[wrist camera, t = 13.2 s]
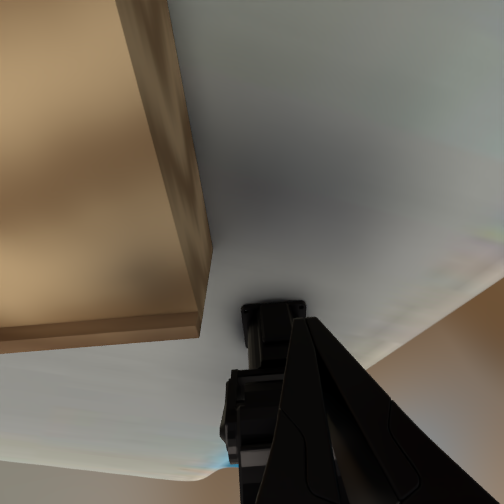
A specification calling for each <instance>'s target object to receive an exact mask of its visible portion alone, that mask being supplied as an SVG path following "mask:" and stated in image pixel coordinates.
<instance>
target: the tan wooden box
mask: <svg viewBox="0 0 504 504" xmlns="http://www.w3.org/2000/svg"><path fill="white" fill-rule="evenodd" d="M212 253H213V247H212V241H211V236H210V231H209V225H208V220H207V214H206V209H205V204H204V198H203V193H202V187H201V182H200V176H199V171H198V166H197V160H196V155H195V149H194V144H193V139H192V133H191V128H190V122H189V117H188V112H187V106H186V101H185V95H184V90H183V85H182V79H181V74H180V68H179V63H178V57H177V52H176V47H175V41H174V36H173V30H172V25H171V20H170V14H169V9H168V3H167V0H0V354H4V353H17V352H29V351H41V350H54V349H66V348H78V347H91V346H103V345H116V344H128V343H140V342H153V341H165V340H177V339H190V338H199V336H200V330H201V323H202V317H203V310H204V304H205V298H206V291H207V285H208V278H209V272H210V266H211V259H212Z"/></svg>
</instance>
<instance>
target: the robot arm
mask: <svg viewBox="0 0 504 504" xmlns="http://www.w3.org/2000/svg"><path fill="white" fill-rule="evenodd" d="M301 305H302V306H301ZM245 310H247V311H245ZM241 314H242V322H243V329H244V337H245V344H246V348H248V360H249V370H238V369H235V370H231V379H229V381H228V382H226V397H225V406H224V410H223V415H222V420H221V425H220V437H221V439H222V440H223V441H224V442H225V443H226V448H227V451H228V455H229V461H230V464H239V482H240V501H241V504H499V502H497V501H496V500H495V499H494V498H493V497H492V496H491V495H490V494H489V493H488V492H487V491H485V490H484V489H483V488H482V487H481V486H480V485H479V484H478V483H477V482H476V481H475V480H473V478H472V477H470V476H469V475H468V474H467V473H466V472H465V471H464V470H463V469H462V468H461V467H460V466H459V465H458V464H456V463H455V462H454V461H453V460H452V459H451V458H450V457H449V456H448V455H447V454H446V453H445V452H444V451H442V450H441V449H440V448H439V447H438V446H437V445H436V444H435V443H434V442H433V441H432V440H431V439H430V438H429V437H428V436H427V435H426V434H425V433H424V432H423V431H422V430H421V429H420V428H419V427H418V426H417V425H416V424H415V423H414V422H413V421H412V420H411V419H410V418H409V417H408V416H407V415H406V414H405V413H404V412H403V411H402V410H401V408H400V407H398V405H397V404H396V403H395V402H394V401H393V400H391V398H390V397H389V395H388V394H387V393H386V392H385V391H384V390H383V389H382V388H381V387H380V386H379V385H378V383H377V382H376V381H375V380H374V379H373V378H372V377H371V376H370V375H369V374H368V373H367V372H366V370H365V369H364V368H363V367H362V366H361V365H360V364H359V363H358V362H357V361H356V359H355V358H354V357H353V356H352V355H351V354H350V353H349V352H348V351H347V350H346V349H345V348H344V346H343V345H342V344H341V343H340V342H339V341H338V340H337V339H336V338H335V337H334V336H333V334H332V333H331V332H330V331H329V330H328V329H327V328H326V327H325V326H324V325H323V324H322V322H321V321H320V320H319V319H318V318H317V317H306V304H305V302H304V301H293V302H280V303H268V304H256V305H245V306H243V307H242V308H241Z"/></svg>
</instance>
